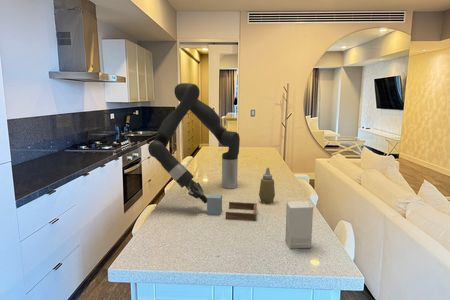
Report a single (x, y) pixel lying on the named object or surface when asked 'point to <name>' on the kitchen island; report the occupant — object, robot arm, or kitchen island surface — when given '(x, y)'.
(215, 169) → the kitchen island surface
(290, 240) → the skincare box
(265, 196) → the squeeze bottle
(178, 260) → the kitchen island surface
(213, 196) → the slate block
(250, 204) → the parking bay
